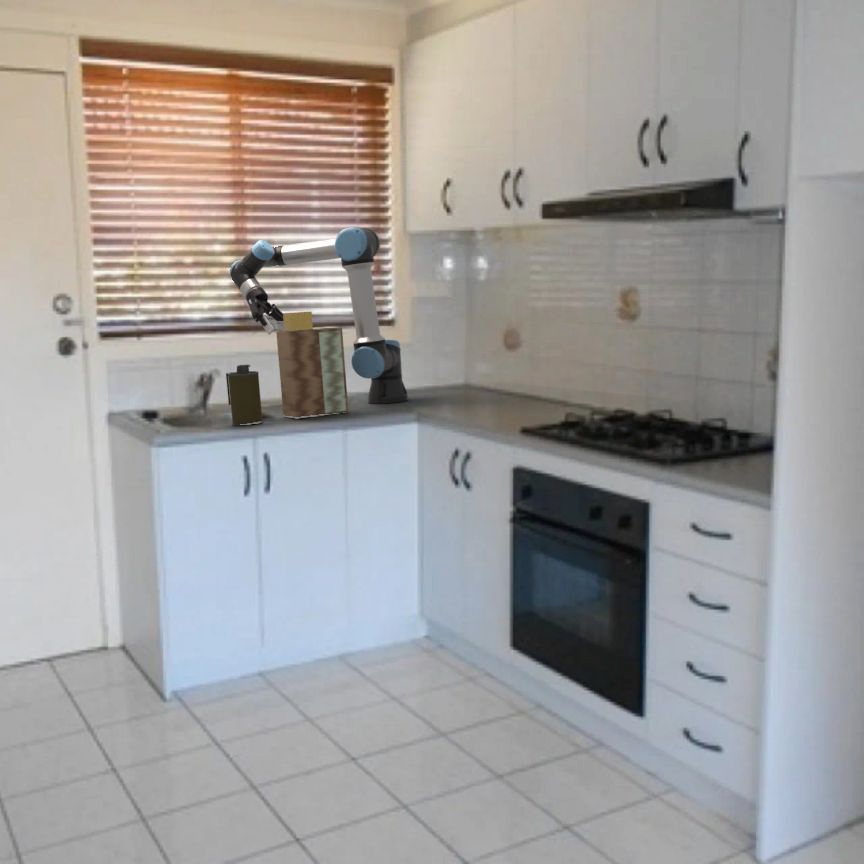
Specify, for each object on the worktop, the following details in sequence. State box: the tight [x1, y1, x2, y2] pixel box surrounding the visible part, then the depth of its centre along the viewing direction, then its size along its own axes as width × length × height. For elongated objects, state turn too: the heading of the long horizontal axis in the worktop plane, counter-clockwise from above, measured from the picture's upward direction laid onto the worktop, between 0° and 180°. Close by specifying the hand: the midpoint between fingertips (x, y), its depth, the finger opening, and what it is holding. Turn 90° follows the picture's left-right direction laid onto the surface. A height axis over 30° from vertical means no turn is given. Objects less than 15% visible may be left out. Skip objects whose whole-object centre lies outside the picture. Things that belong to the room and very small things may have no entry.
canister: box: [225, 364, 263, 426], centre depth 344 cm, size 11×10×20 cm
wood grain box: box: [276, 326, 349, 417], centre depth 354 cm, size 20×11×30 cm, turn 121°
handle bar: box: [270, 311, 314, 331], centre depth 355 cm, size 8×24×6 cm, turn 31°
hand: (283, 334), depth 368 cm, fingers open, 13 cm apart
